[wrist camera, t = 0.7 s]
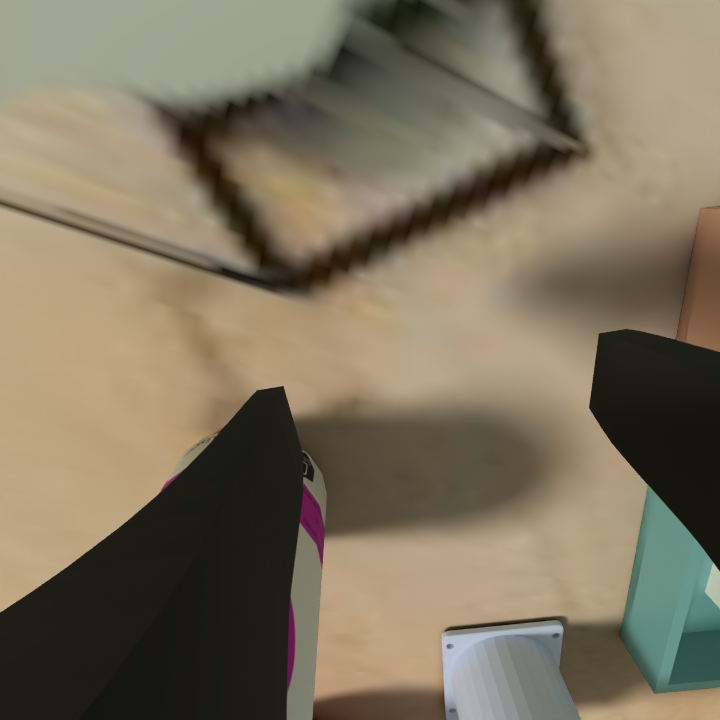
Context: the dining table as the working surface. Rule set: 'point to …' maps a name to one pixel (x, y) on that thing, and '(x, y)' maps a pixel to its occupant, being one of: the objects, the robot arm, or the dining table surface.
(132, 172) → the dining table surface
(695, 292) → the bin
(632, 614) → the bin
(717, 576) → the cube
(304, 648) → the supplement can
